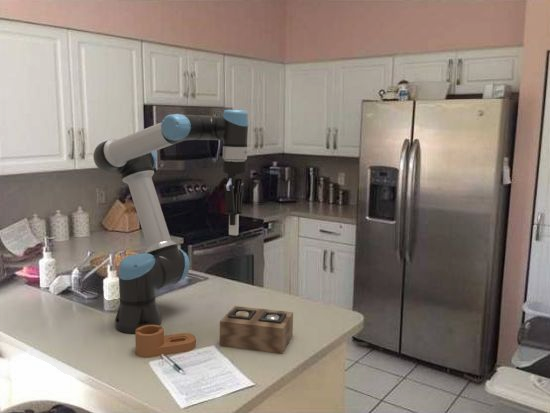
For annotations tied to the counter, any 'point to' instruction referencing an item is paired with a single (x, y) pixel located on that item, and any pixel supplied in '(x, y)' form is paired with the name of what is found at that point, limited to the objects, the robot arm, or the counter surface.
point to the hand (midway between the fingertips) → (233, 234)
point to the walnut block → (256, 330)
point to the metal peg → (272, 317)
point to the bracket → (161, 342)
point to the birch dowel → (242, 313)
